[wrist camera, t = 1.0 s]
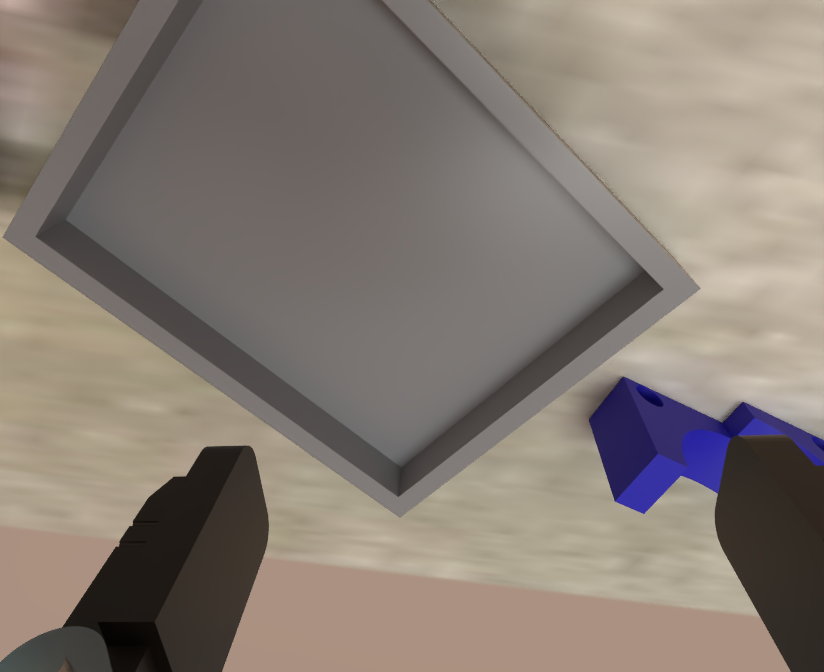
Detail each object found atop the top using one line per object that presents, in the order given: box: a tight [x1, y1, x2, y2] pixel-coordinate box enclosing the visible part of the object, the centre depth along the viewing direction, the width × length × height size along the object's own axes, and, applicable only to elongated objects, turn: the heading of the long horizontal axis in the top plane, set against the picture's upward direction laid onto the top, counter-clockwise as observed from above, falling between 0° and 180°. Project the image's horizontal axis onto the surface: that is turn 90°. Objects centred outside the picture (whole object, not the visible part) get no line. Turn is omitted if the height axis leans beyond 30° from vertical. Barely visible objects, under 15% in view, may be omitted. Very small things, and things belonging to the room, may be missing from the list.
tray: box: [3, 0, 700, 517], centre depth 25 cm, size 18×22×3 cm
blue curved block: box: [589, 377, 824, 514], centre depth 28 cm, size 12×4×6 cm, turn 64°
